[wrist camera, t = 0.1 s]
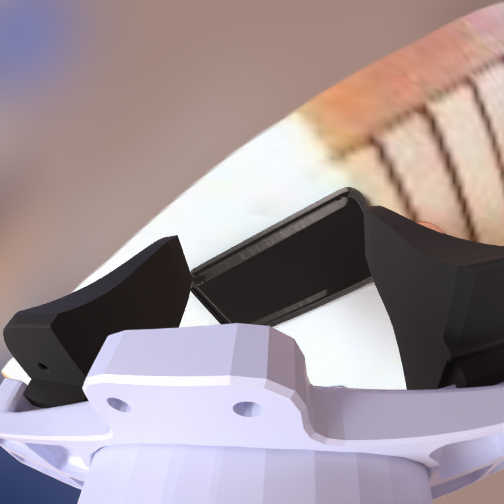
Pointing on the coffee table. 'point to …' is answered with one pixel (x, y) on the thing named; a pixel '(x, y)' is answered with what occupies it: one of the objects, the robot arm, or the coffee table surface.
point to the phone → (289, 265)
